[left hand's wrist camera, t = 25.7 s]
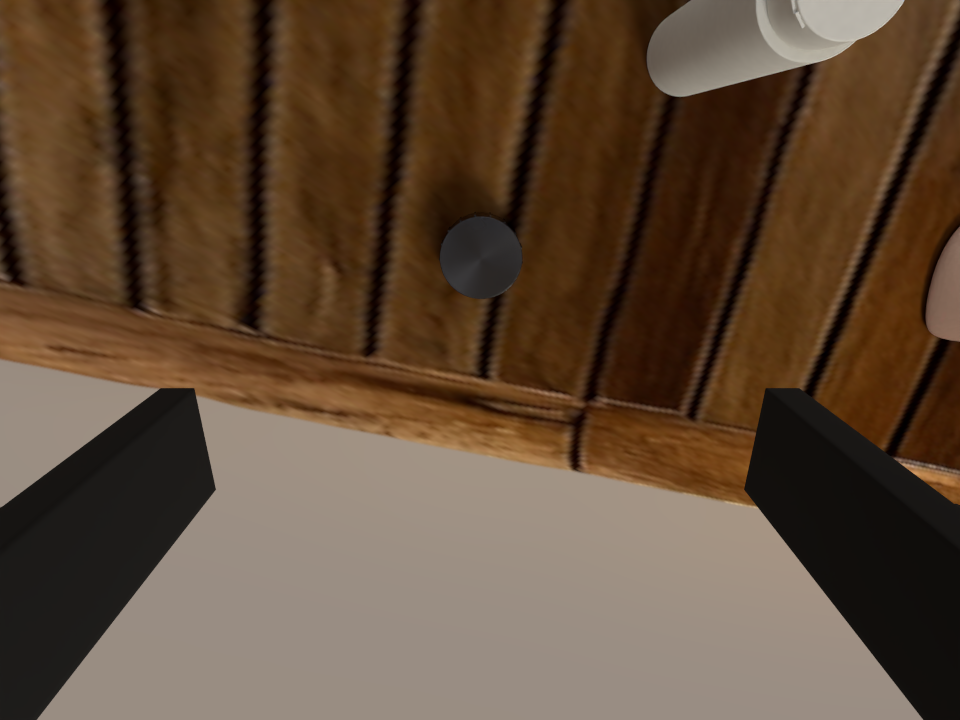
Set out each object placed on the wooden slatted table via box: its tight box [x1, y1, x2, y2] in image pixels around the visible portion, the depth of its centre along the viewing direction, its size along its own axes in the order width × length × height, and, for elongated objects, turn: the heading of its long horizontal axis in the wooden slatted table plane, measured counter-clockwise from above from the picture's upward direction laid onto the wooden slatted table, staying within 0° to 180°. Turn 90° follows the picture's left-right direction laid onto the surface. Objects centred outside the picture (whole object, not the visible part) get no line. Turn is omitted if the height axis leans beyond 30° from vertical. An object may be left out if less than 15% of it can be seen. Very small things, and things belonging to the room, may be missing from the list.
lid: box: [439, 212, 522, 299], centre depth 37 cm, size 6×6×2 cm
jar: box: [647, 0, 904, 97], centre depth 26 cm, size 5×5×16 cm
